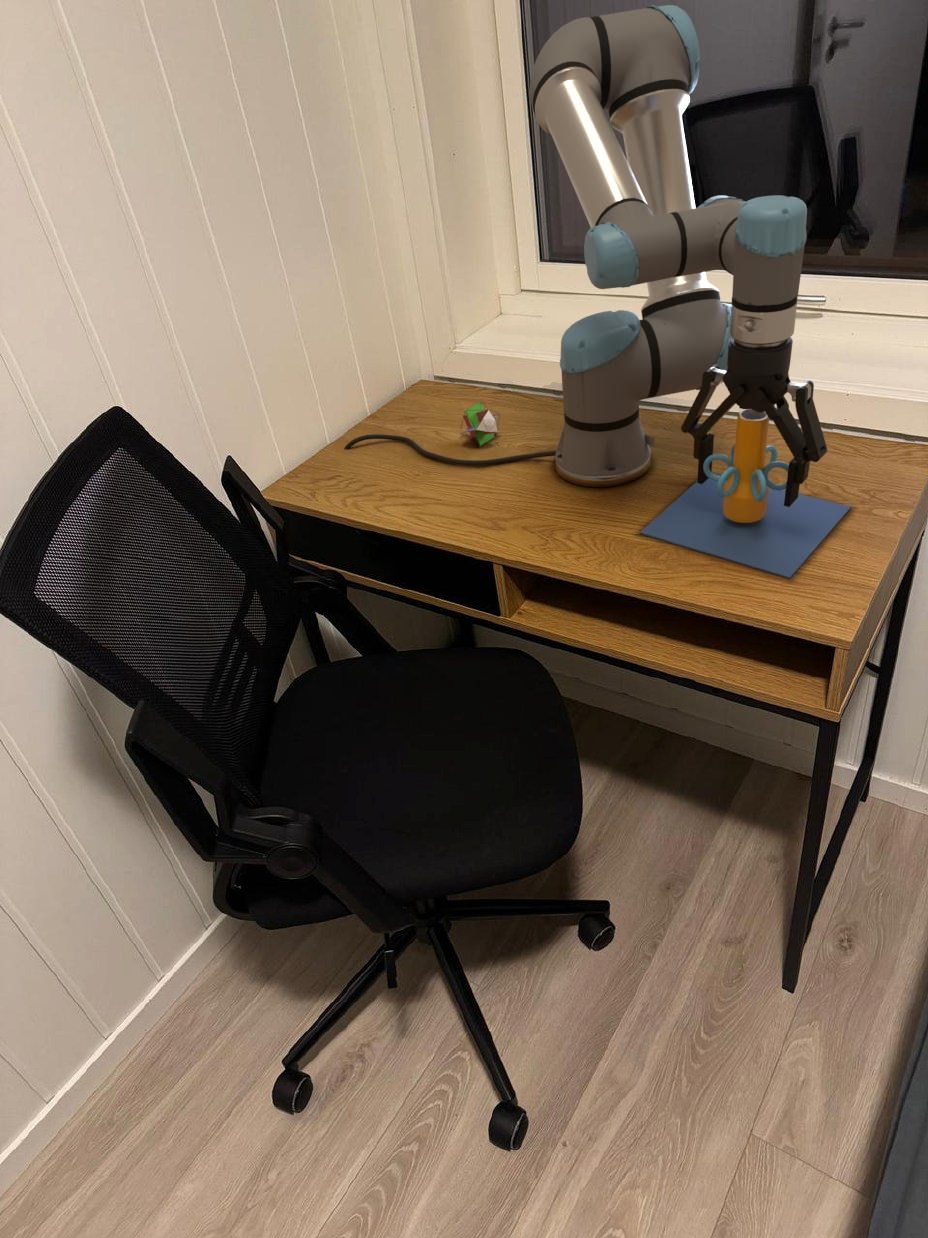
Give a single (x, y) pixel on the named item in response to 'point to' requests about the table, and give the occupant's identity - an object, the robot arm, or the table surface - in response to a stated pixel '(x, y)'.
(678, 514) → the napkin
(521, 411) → the table surface
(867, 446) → the table surface
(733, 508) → the cylinder
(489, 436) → the geometric puzzle
